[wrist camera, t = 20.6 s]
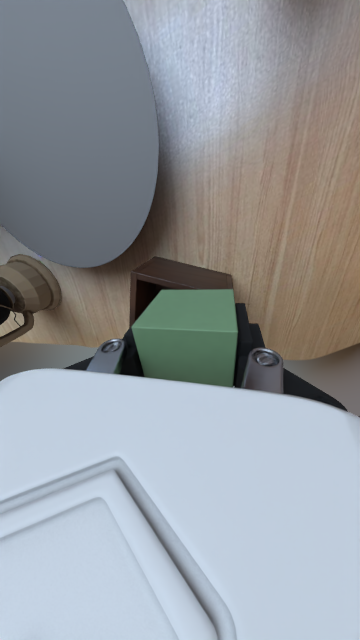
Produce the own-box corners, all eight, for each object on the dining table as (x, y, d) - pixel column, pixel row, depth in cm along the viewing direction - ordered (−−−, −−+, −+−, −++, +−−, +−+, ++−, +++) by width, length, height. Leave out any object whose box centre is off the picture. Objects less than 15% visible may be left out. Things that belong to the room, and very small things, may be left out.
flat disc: (176, 260, 28) (169, 268, 25) (34, 261, 34) (11, 267, 30) (155, -101, 14) (130, -213, 10) (-82, 5, 20) (-152, -43, 16)
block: (169, 344, 14) (148, 394, 10) (161, 289, 12) (130, 327, 8) (229, 348, 13) (231, 405, 9) (233, 289, 11) (238, 331, 7)
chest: (154, 256, 29) (130, 271, 21) (231, 274, 28) (233, 297, 20) (148, 324, 36) (128, 352, 29) (208, 340, 35) (204, 375, 28)
